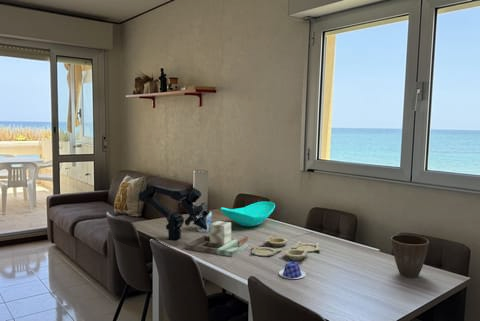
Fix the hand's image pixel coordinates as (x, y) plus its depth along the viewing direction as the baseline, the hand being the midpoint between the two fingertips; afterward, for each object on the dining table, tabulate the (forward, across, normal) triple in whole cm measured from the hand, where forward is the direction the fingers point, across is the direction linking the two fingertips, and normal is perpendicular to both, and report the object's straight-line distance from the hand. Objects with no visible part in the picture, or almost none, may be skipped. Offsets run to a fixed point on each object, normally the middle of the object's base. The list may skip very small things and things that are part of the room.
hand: (206, 229), depth 212 cm
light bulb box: (-5, +24, +18) cm, 31 cm away
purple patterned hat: (+47, -22, -34) cm, 62 cm away
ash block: (+10, 0, -2) cm, 11 cm away
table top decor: (+9, +46, +3) cm, 47 cm away
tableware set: (+38, +7, -25) cm, 46 cm away
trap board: (+12, -4, 0) cm, 13 cm away
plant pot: (+79, -2, -67) cm, 104 cm away
